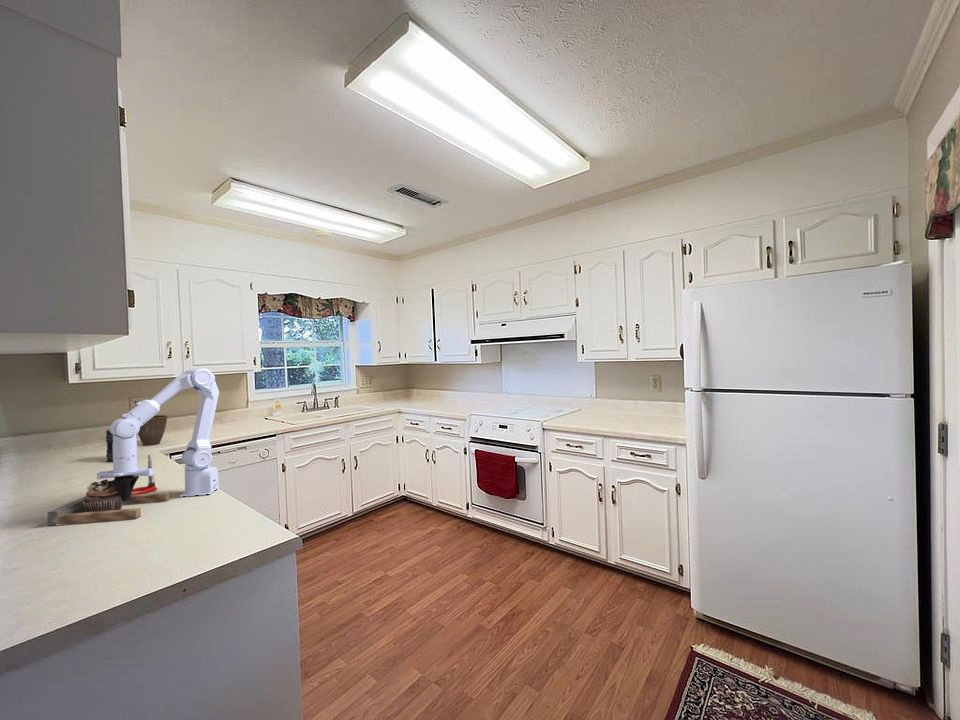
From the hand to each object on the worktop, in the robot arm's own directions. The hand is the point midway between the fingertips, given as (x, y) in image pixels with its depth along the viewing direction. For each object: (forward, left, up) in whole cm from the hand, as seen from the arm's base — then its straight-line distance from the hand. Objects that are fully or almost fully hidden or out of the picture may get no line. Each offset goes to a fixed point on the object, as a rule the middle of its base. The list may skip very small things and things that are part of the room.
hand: (126, 499), depth 127 cm
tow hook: (+8, -20, -4) cm, 22 cm away
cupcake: (+6, 0, -4) cm, 7 cm away
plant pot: (+60, -120, -4) cm, 134 cm away
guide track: (+4, 0, -3) cm, 5 cm away
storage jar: (+51, -80, -4) cm, 95 cm away
